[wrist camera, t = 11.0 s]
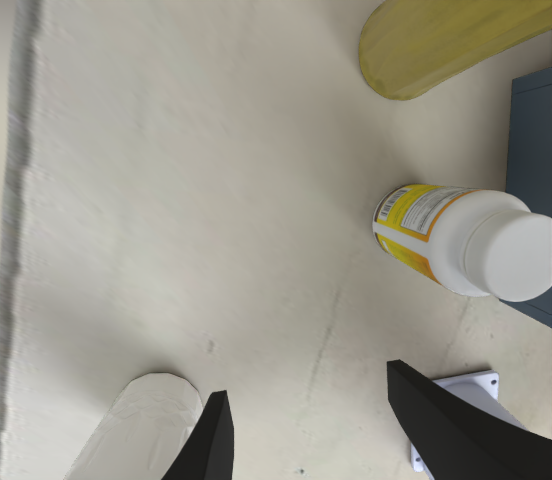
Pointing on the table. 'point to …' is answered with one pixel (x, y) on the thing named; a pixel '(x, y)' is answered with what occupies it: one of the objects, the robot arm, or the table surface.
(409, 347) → the table surface
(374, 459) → the table surface
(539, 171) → the open box
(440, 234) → the supplement bottle
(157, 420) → the white cup
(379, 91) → the vase
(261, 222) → the table surface
